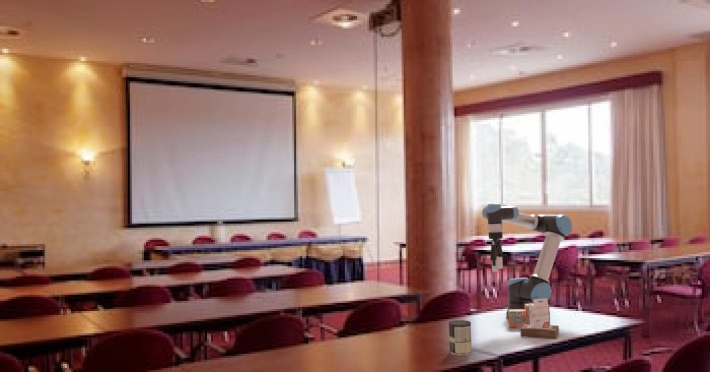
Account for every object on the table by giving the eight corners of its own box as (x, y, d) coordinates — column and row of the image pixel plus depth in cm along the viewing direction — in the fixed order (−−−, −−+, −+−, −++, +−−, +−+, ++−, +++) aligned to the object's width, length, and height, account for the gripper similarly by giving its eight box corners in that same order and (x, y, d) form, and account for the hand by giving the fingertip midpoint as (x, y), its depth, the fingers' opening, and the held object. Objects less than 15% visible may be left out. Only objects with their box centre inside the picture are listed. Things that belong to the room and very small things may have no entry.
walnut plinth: (525, 331, 334) (525, 323, 334) (558, 333, 327) (558, 325, 327) (520, 336, 322) (520, 328, 322) (555, 338, 315) (555, 330, 315)
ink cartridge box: (544, 325, 328) (543, 296, 328) (549, 327, 323) (548, 298, 323) (529, 326, 326) (528, 298, 326) (534, 328, 321) (533, 299, 321)
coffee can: (445, 353, 293) (444, 323, 294) (456, 349, 301) (455, 319, 302) (465, 356, 287) (463, 325, 287) (476, 351, 295) (475, 321, 295)
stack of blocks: (509, 328, 344) (508, 305, 344) (508, 326, 350) (507, 303, 350) (550, 328, 341) (549, 305, 341) (548, 325, 347) (547, 303, 347)
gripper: (493, 230, 361) (495, 267, 360) (483, 233, 338) (485, 273, 338) (506, 229, 358) (509, 267, 357) (497, 233, 335) (499, 273, 335)
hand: (497, 270), depth 347 cm, fingers open, 13 cm apart
